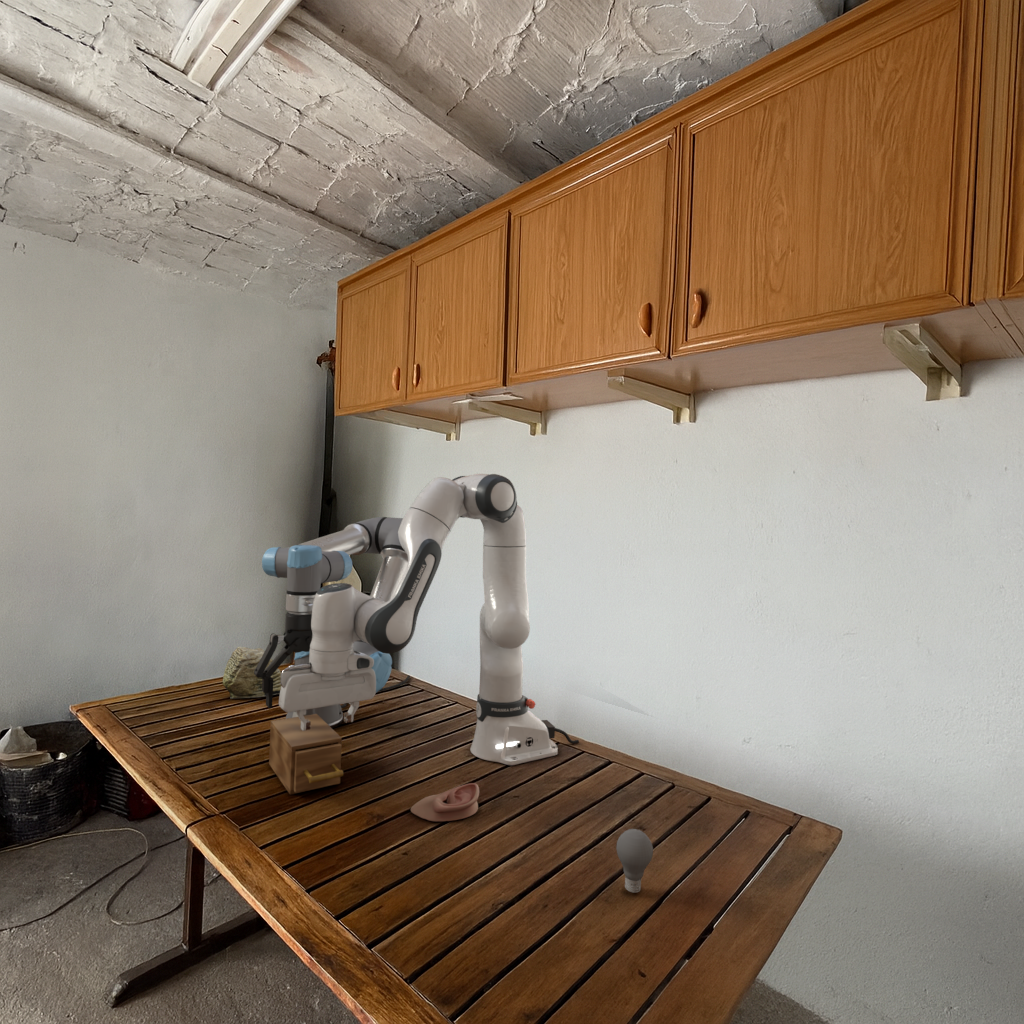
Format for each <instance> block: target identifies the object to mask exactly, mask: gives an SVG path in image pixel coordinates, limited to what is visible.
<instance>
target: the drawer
mask: <svg viewBox="0 0 1024 1024" xmlns="http://www.w3.org/2000/svg"><path fill="white" fill-rule="evenodd" d="M342 748H343V747H342V744H340V743H339V744H334V743H331V744H326V745H320V746H315V747H310V748H304V749H299V750H296V752H295V772H294V792H295V793H296V794H299V793H298V792H300V793H303V792H302V791H304V792H308V791H307V790H309V791H312V790H311V789H313V790H317V789H316V788H318V789H321V788H320V787H322V788H325V787H324V786H327V787H330V786H329V785H331V786H334V785H333V784H336V785H339V784H338V783H340V784H341V777H343V776H344V770H343V769H342Z"/></svg>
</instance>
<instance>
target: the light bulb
mask: <svg viewBox="0 0 1024 1024" xmlns="http://www.w3.org/2000/svg"><path fill="white" fill-rule="evenodd" d="M615 849H616V854H617V857H618V859H619V861H620V863H621V865H622V867H623V873H624V874H623V875H624V876H625V878H624V888H625V890H627V891H628V892H630V893H634V894H635V893H639V892H640V891H641V889H642V887H641V886H642V879H643V877H644V875H645V871H646V868H647V867H648V866H649V864H650V863H651V861H652V859H653V855H654V847H653V843H652V841H651V838H649V836H648V835H647V834H646V833H645V832H643V831H642V830H641V829H636V828H629V829H627V830H625V831H623V832H622V833H621V834H620V835H619V837H618V839H617V841H616V847H615Z"/></svg>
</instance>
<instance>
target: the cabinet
mask: <svg viewBox="0 0 1024 1024" xmlns="http://www.w3.org/2000/svg"><path fill="white" fill-rule="evenodd" d="M304 718H305V719H308V720H309V721H311V725H310V730H305V731H303V730H301V720H300V719H299V717H293V718H287V719H286V718H281V719H275V720H270V728H269V731H270V732H269V753H268V754H269V758H268V764H269V766H270V768H271V769H272V771H273V773H274V774H275V775H276V777H277V778H278V780H279V781H280V782H281V784H282V786H283V787H284V788H285V790H286V791H287V792H288V794H289V795H290V796H292V795H295V794H299V793H304V792H305V791H302V792H298V793H295V792H294V772H295V752H296V750H299V749H304V748H310V747H315V746H320V745H326V744H331V743H334V744H339V743H340V744H341V745H342V744H343V742H342V740H343V738H342V737H341V735H340V734H338V732H336V731H335V730H334V728H333V729H332V728H331V727H330V726H329V725H328V724H327V723H326V722H325V721H324V720H323V719H322V718H321V717H319V716H318V715H317V714H313V715H306V716H304ZM340 784H341V782H340V783H338V784H333V785H329V786H324V787H320V788H316V789H315V790H317V789H321V788H326V787H330V786H335V785H340ZM313 790H314V789H311V790H307V791H306V792H309V791H313Z"/></svg>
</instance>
